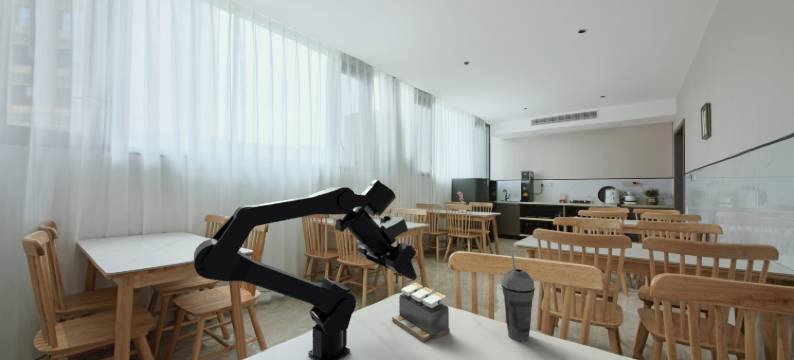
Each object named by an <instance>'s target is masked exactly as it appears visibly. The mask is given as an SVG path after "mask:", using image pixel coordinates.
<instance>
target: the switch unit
mask: <svg viewBox="0 0 794 360" xmlns="http://www.w3.org/2000/svg"><path fill="white" fill-rule="evenodd" d="M398 304H399V307H398V308H399V309H398V310H399V312H398V313H399V315H396V316H395V315H394V316H393V317H392V318H391V321H392V323H394V324H396V325H397V326H399V327H400V328H402V329H403V330H404V331H405V332H407V333H409V334H411V336H413V337H415V338H416V339H418V340H419V341H420V342H422V343H426V342H429V341H432V340H434V339H437V338H439V337H442V336H445V335H448V334H450V330H451V329H450V325H449V324H450V321H449V319H450V318H449V317H450V315H449V314H450V313H449V306H448V305H446V304H444V303H443V302H442V303H440V304H439V305H437V306H435V307H433V308H430V307H428V306H426V305H424V304H423V301H421V302H419V301H417V300H415V299H413V298H412V296H411V295H410V296H407V295H405V294H403V293H401V294H399V298H398Z"/></svg>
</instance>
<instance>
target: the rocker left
mask: <svg viewBox="0 0 794 360" xmlns="http://www.w3.org/2000/svg"><path fill="white" fill-rule="evenodd" d="M423 288H424V287H423V285H422V284H419V283H418V282H412V283H411V284H409V285H406V286H404V287H403V288H401V289H400V292H401V294H405V295H407V296H410V295H411V294H413V293H415V292H417V291H419V290H421V289H423Z"/></svg>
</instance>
